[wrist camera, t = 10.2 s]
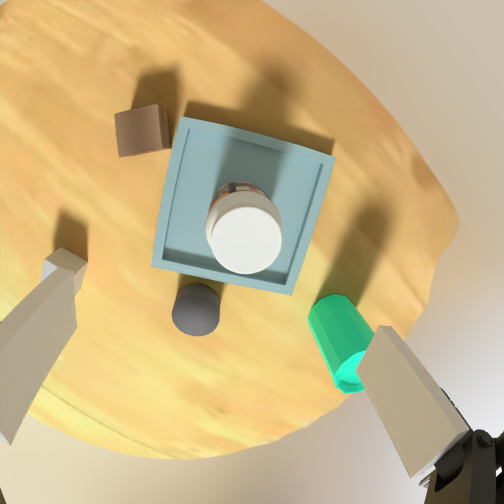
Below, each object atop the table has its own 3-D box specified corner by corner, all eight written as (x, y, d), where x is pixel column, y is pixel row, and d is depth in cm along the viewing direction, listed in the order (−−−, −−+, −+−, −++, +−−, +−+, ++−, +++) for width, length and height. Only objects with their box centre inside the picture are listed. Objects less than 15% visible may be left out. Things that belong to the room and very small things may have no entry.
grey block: (55, 273, 29) (39, 288, 25) (61, 246, 28) (44, 258, 24) (80, 288, 30) (66, 304, 26) (88, 261, 29) (73, 276, 25)
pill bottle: (214, 176, 26) (207, 190, 17) (273, 184, 27) (298, 204, 18) (206, 233, 28) (197, 275, 19) (263, 240, 29) (281, 285, 20)
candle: (334, 340, 35) (368, 407, 24) (298, 325, 34) (326, 398, 23) (362, 304, 34) (408, 365, 22) (326, 286, 32) (369, 351, 21)
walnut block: (133, 155, 26) (119, 157, 22) (129, 117, 24) (114, 113, 20) (171, 148, 26) (162, 148, 22) (167, 109, 24) (157, 103, 21)
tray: (154, 260, 29) (151, 266, 28) (183, 117, 25) (180, 116, 23) (288, 288, 32) (291, 295, 30) (330, 156, 27) (335, 157, 26)
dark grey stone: (173, 316, 32) (169, 331, 29) (179, 278, 30) (174, 291, 28) (215, 324, 33) (214, 339, 30) (224, 287, 31) (223, 301, 28)
